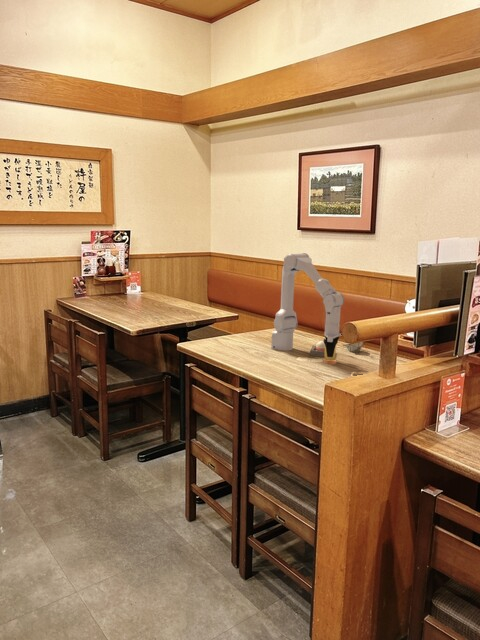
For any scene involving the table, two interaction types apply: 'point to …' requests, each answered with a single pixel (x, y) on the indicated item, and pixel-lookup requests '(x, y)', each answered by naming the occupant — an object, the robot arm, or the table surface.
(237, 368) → the table surface
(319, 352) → the grey square tray
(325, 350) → the yellow upright block
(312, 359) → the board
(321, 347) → the dome
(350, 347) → the grey rock
